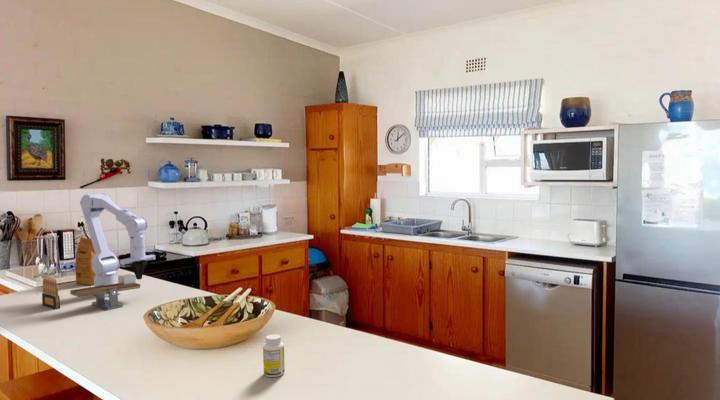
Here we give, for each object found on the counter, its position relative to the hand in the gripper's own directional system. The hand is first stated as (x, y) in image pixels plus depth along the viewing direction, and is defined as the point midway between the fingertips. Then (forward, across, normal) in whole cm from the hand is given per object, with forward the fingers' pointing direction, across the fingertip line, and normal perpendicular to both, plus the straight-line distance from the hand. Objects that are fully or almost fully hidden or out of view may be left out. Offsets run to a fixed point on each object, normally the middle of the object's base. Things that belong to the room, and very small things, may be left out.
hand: (139, 278), depth 219 cm
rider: (+2, -5, +1) cm, 5 cm away
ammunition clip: (+9, -28, +17) cm, 34 cm away
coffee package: (+9, +1, +47) cm, 48 cm away
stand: (+8, -14, 0) cm, 16 cm away
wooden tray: (+2, -14, 0) cm, 14 cm away
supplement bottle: (+8, -20, -104) cm, 106 cm away
